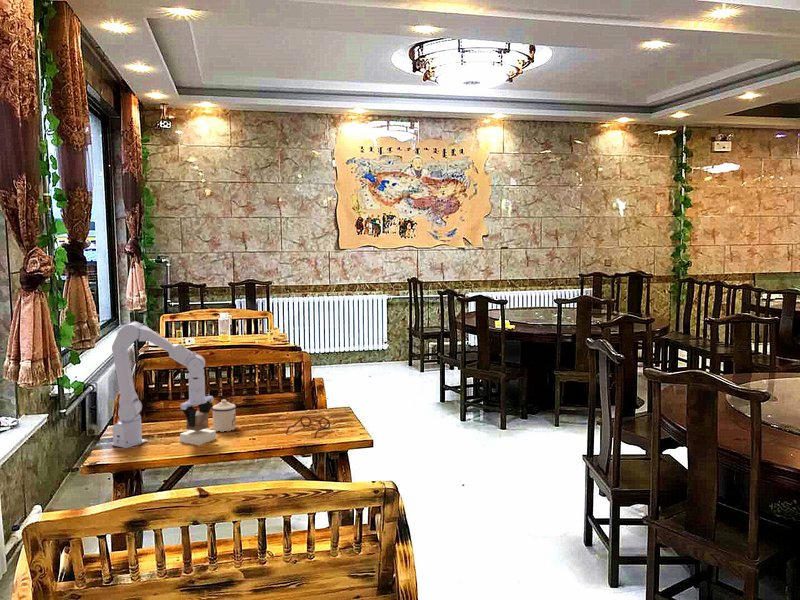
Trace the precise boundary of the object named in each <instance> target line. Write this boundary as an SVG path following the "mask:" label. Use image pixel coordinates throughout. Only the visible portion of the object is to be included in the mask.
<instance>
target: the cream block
mask: <svg viewBox="0 0 800 600" xmlns="http://www.w3.org/2000/svg"><path fill="white" fill-rule="evenodd" d="M213 439H214V440H216V439H217V431H215V430H213V429H209V428H206V429H203V430H200V431H194V430H187V431H184V432H181V433H179V442H180V443H182V442H184V443H183V444H188V443H190V444H189V445H193V444H195V446H202V445H203V443H204V444H207V443H210V442H211V440H212V441H214V440H213ZM206 442H207V443H206Z"/></svg>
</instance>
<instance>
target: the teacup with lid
mask: <svg viewBox="0 0 800 600" xmlns="http://www.w3.org/2000/svg"><path fill="white" fill-rule="evenodd" d="M236 408H237V405H236V404H234V403H231V402H230V401H227V399H221V401H220V402H218V403H216V404H213V405H212V407H211V409H212V430H215V431H216V432H218V431H220V433H222V432H223V433H224V431H227V432H231V430H232V431H234V430H236V428H237V422H236V420H237V419H236Z"/></svg>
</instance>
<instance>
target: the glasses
mask: <svg viewBox="0 0 800 600" xmlns="http://www.w3.org/2000/svg"><path fill="white" fill-rule="evenodd" d="M303 418H305V419H308V421H309V424H308V425H306V424H304V423H303ZM323 420H324V421H326V423H325V424H324V425H322V421H323ZM312 422H318V423H319V424H318V425H319V427H320V429H317V430H316V431H315V434H314V436H313V439H316V438H317V434H318V433H319V432H321V431H323V430H328V429H330V427H331V422H330V420H329V419H328V418H327V417H322V418H320V419H315V418H311V417H309V416H308V415H302V416H301V417H300V418H299V420H297V421H296V422H295V423H294V424H293V425H289V426H288V427H287V428H286V431H285V434H287V435H288V433H289V431H290V429H291V428H294V427H296V426H297V425H298V424H299V423H300V424H301V426H303V427H306V428H309V427H310V426H311V425H312ZM324 428H325V429H324Z"/></svg>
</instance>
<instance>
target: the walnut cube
mask: <svg viewBox="0 0 800 600" xmlns="http://www.w3.org/2000/svg"><path fill="white" fill-rule="evenodd" d="M185 421H186V425H185V427H186V430H187V431H189V430H194V431H200V430H203V429H209V414H208V413H205V412H200V410H197V411H196V415H195V426H194V427H190V426H189V424H188V421H187V418H185Z"/></svg>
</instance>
